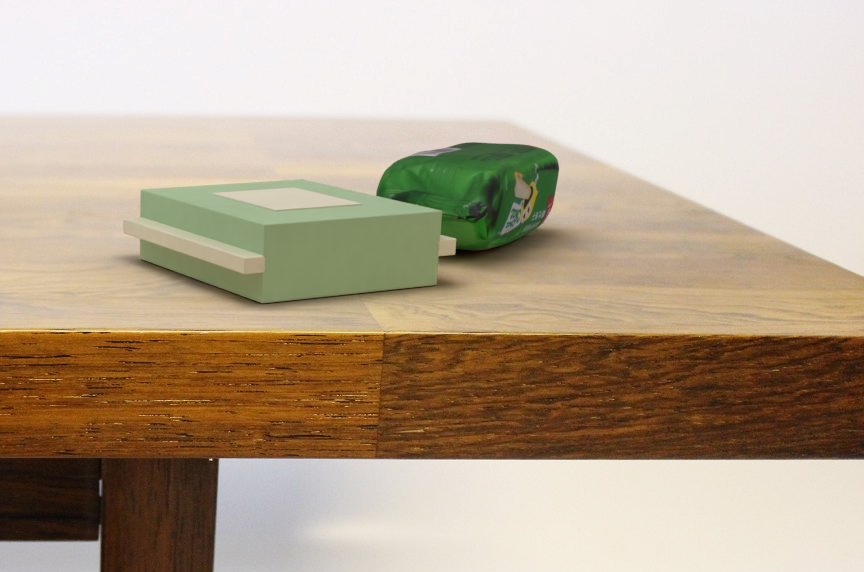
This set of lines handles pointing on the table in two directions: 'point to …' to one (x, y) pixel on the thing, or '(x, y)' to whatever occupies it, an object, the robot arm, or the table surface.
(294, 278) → the green block with rails
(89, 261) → the table surface
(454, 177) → the snack package
